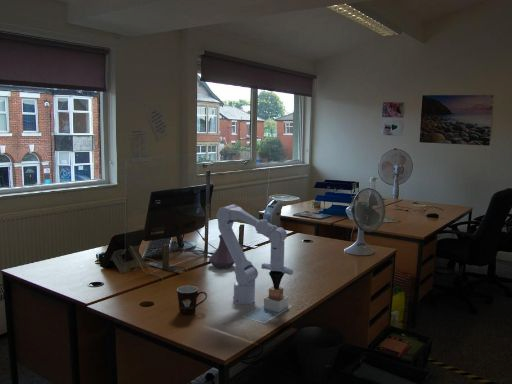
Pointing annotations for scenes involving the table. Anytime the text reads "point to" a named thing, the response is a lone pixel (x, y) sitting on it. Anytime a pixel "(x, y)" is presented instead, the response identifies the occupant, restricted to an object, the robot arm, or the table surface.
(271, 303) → the socket pedestal
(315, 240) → the table surface
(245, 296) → the robot arm
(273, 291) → the terracotta block
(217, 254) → the flask
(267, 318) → the board
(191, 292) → the coffee mug
